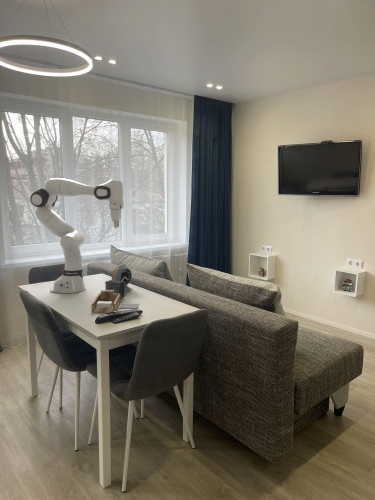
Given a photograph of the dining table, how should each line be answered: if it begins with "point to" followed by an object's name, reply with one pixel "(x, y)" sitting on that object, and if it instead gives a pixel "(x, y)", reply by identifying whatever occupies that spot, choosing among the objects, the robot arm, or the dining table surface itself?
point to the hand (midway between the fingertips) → (116, 227)
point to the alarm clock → (122, 276)
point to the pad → (129, 306)
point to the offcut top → (104, 304)
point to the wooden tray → (115, 305)
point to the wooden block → (107, 295)
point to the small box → (116, 287)
